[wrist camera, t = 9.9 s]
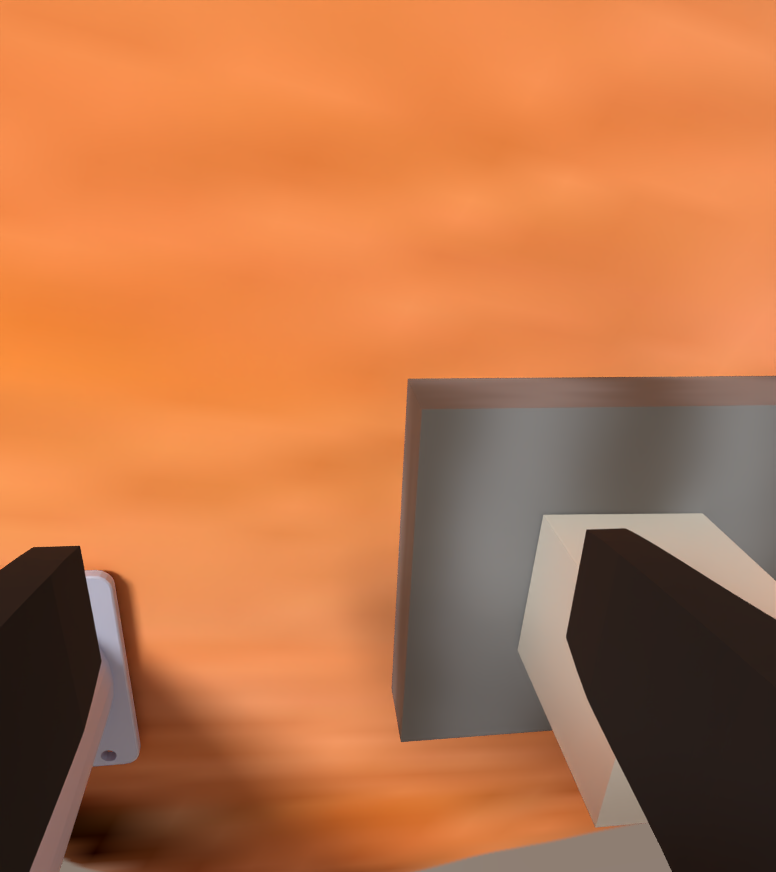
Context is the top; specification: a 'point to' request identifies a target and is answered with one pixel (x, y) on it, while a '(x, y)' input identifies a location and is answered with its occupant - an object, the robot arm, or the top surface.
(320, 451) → the top surface
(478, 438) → the slate panel
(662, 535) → the cream block
